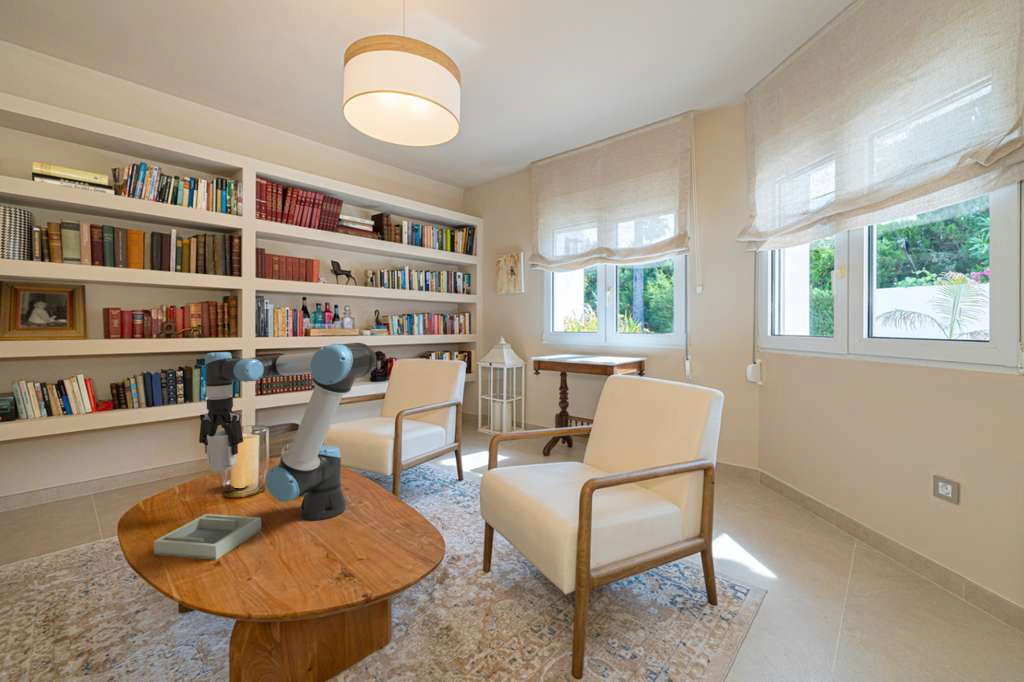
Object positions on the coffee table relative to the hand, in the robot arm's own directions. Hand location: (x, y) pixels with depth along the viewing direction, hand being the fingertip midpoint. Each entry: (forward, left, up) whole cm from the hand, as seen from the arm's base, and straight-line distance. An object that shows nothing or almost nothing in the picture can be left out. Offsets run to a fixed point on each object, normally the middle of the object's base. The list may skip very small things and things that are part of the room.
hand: (222, 463), depth 149 cm
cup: (0, 0, -2) cm, 2 cm away
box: (-10, +16, -19) cm, 26 cm away
